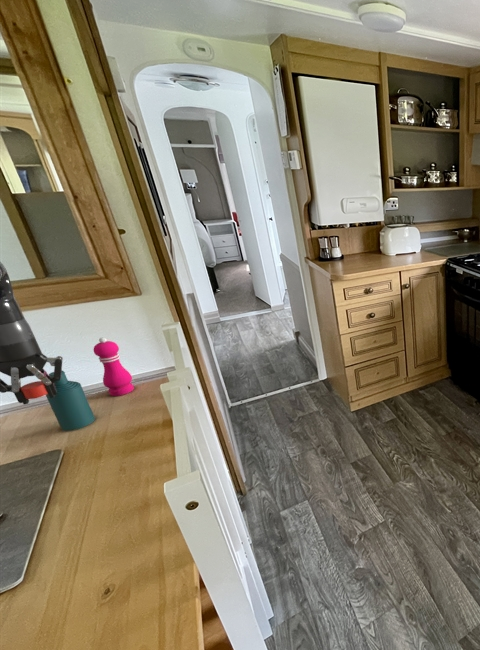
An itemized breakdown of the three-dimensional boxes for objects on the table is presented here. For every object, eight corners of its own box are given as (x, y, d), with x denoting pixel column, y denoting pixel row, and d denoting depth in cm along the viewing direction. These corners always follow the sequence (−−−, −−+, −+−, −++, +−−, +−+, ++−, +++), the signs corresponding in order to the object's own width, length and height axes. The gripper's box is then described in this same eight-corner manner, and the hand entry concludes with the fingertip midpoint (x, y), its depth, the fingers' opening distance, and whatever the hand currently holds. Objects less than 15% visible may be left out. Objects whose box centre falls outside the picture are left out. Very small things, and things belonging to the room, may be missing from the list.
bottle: (55, 433, 107) (31, 381, 101) (69, 419, 113) (46, 369, 107) (88, 427, 110) (66, 376, 103) (99, 414, 116) (79, 365, 110)
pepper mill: (118, 386, 132) (98, 333, 124) (140, 385, 132) (122, 333, 125) (102, 397, 125) (80, 342, 117) (125, 396, 126) (105, 341, 118)
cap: (50, 388, 99) (45, 379, 98) (49, 395, 96) (44, 385, 95) (26, 394, 96) (21, 384, 95) (24, 401, 93) (19, 391, 92)
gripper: (54, 327, 97) (79, 385, 104) (-32, 341, 89) (1, 403, 95) (51, 336, 92) (77, 396, 99) (-41, 351, 84) (-6, 416, 90)
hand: (39, 399), depth 97 cm, fingers closed on cap, 4 cm apart
